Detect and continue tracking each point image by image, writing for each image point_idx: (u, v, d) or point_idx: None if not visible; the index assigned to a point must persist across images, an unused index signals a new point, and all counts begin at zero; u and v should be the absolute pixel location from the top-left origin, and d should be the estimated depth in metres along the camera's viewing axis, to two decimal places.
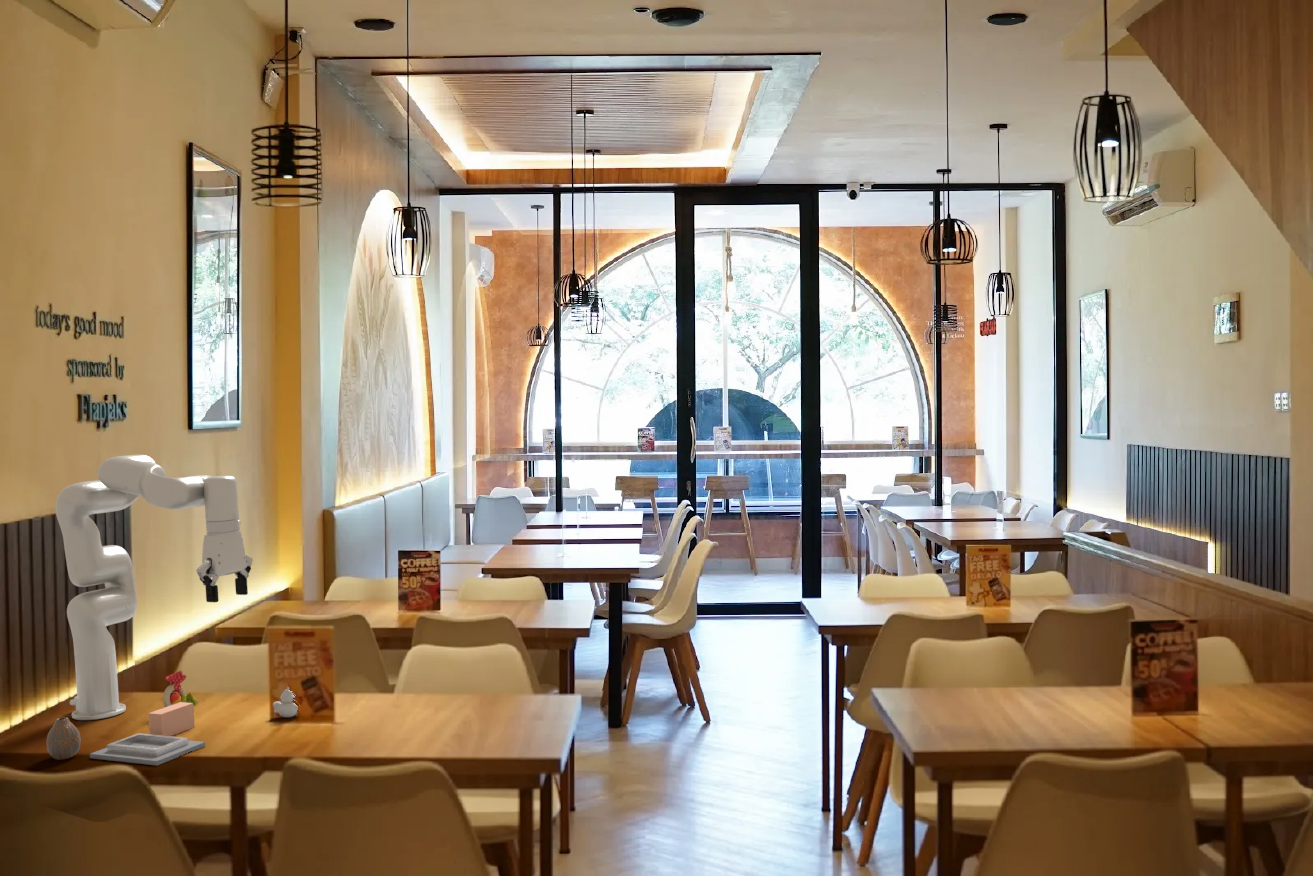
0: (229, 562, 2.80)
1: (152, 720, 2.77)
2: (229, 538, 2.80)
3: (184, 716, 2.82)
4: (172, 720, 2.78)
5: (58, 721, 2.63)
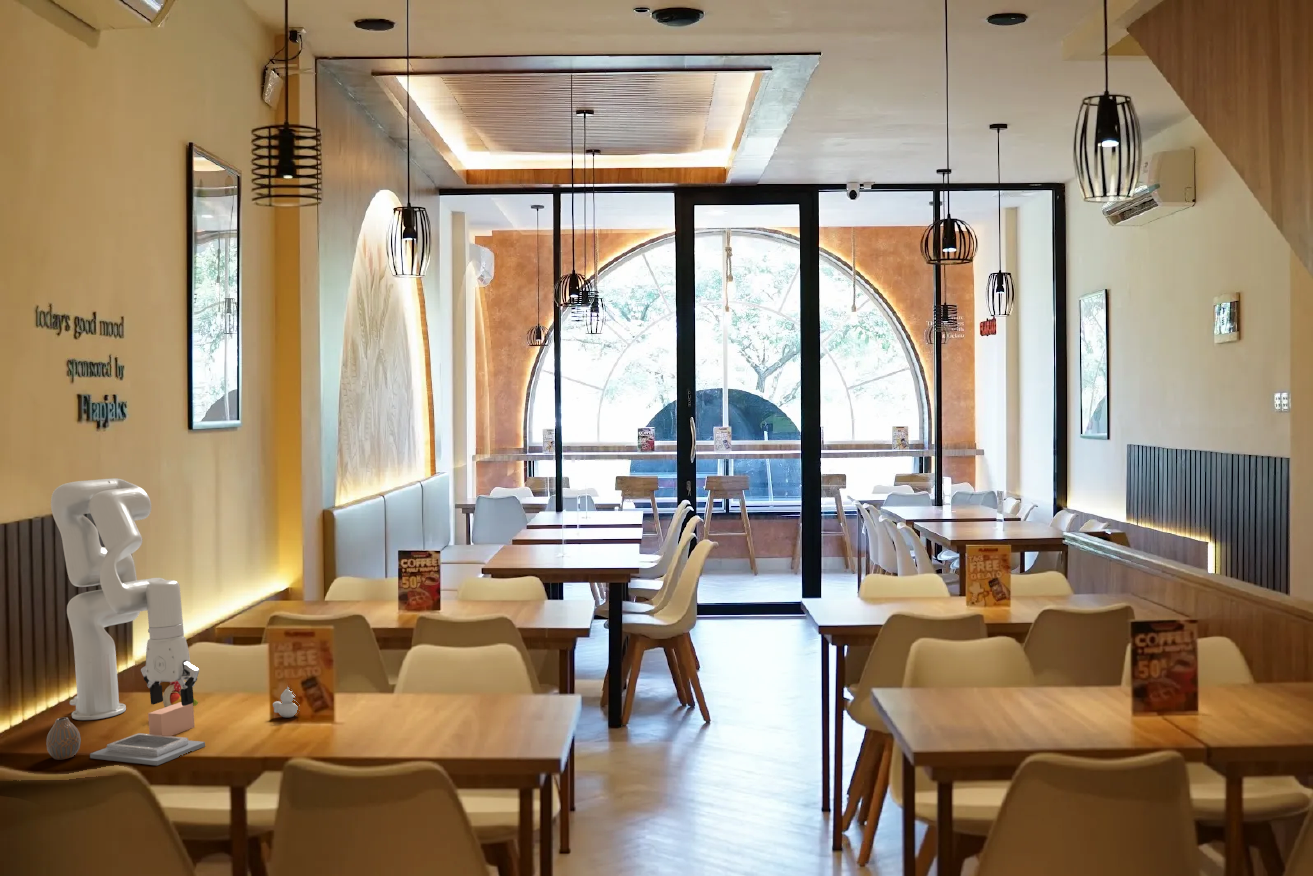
0: None
1: (152, 720, 2.77)
2: None
3: (184, 716, 2.82)
4: (172, 720, 2.78)
5: (58, 721, 2.63)
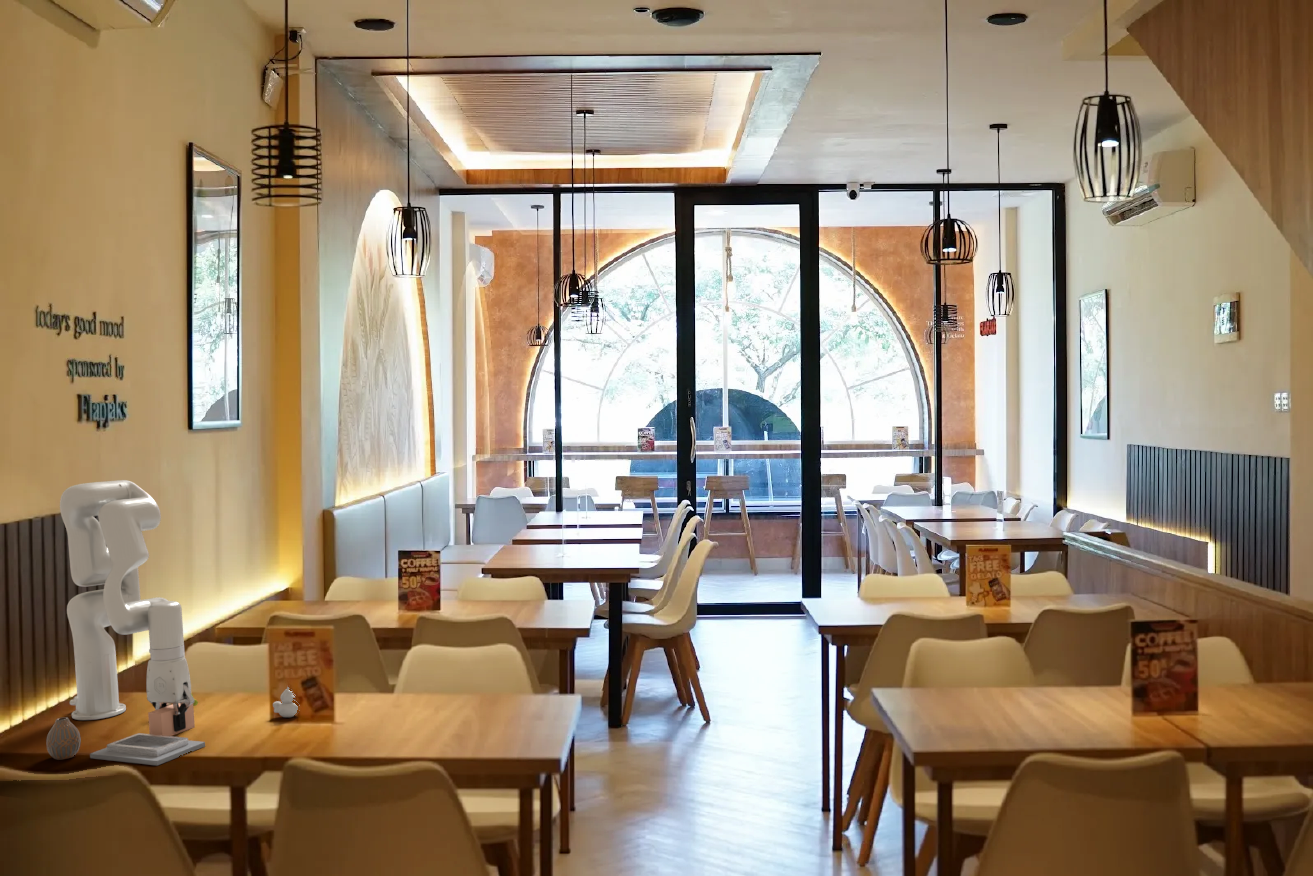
0: None
1: (152, 720, 2.77)
2: None
3: None
4: (172, 720, 2.78)
5: (58, 721, 2.63)
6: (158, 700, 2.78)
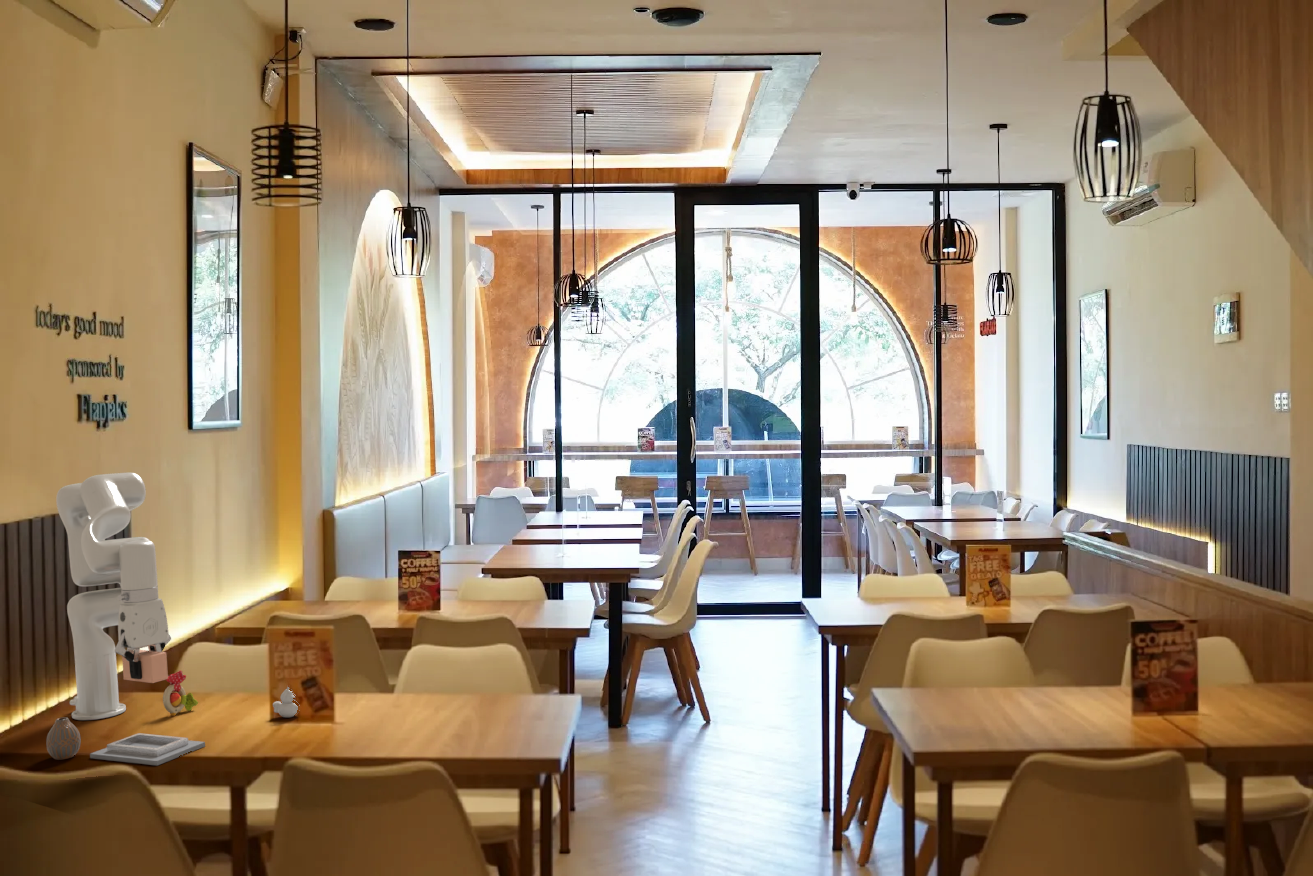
0: None
1: (156, 662, 2.62)
2: None
3: None
4: None
5: (58, 721, 2.63)
6: (148, 643, 2.63)
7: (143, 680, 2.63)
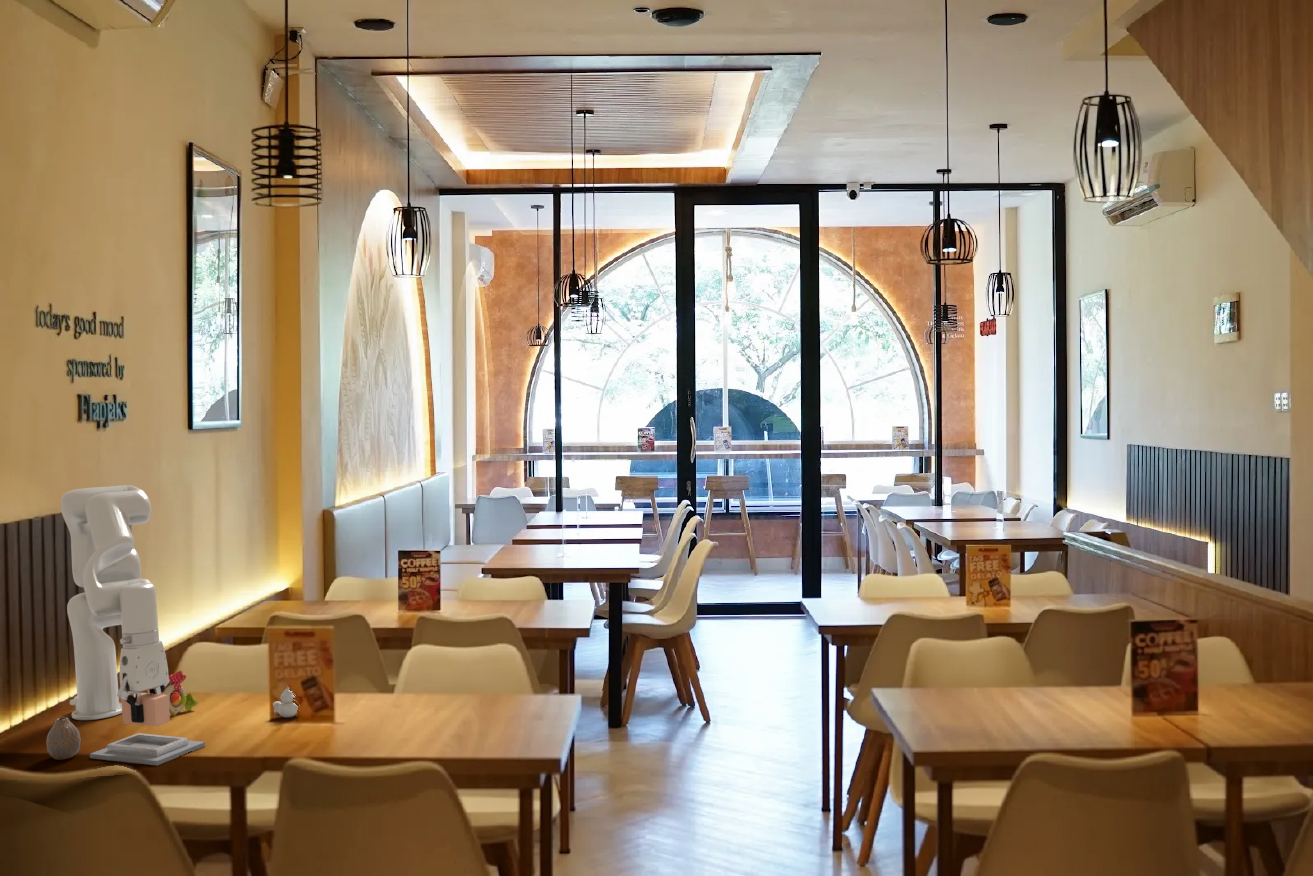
0: None
1: (159, 705, 2.62)
2: None
3: None
4: None
5: (58, 721, 2.63)
6: (150, 687, 2.63)
7: (145, 723, 2.62)
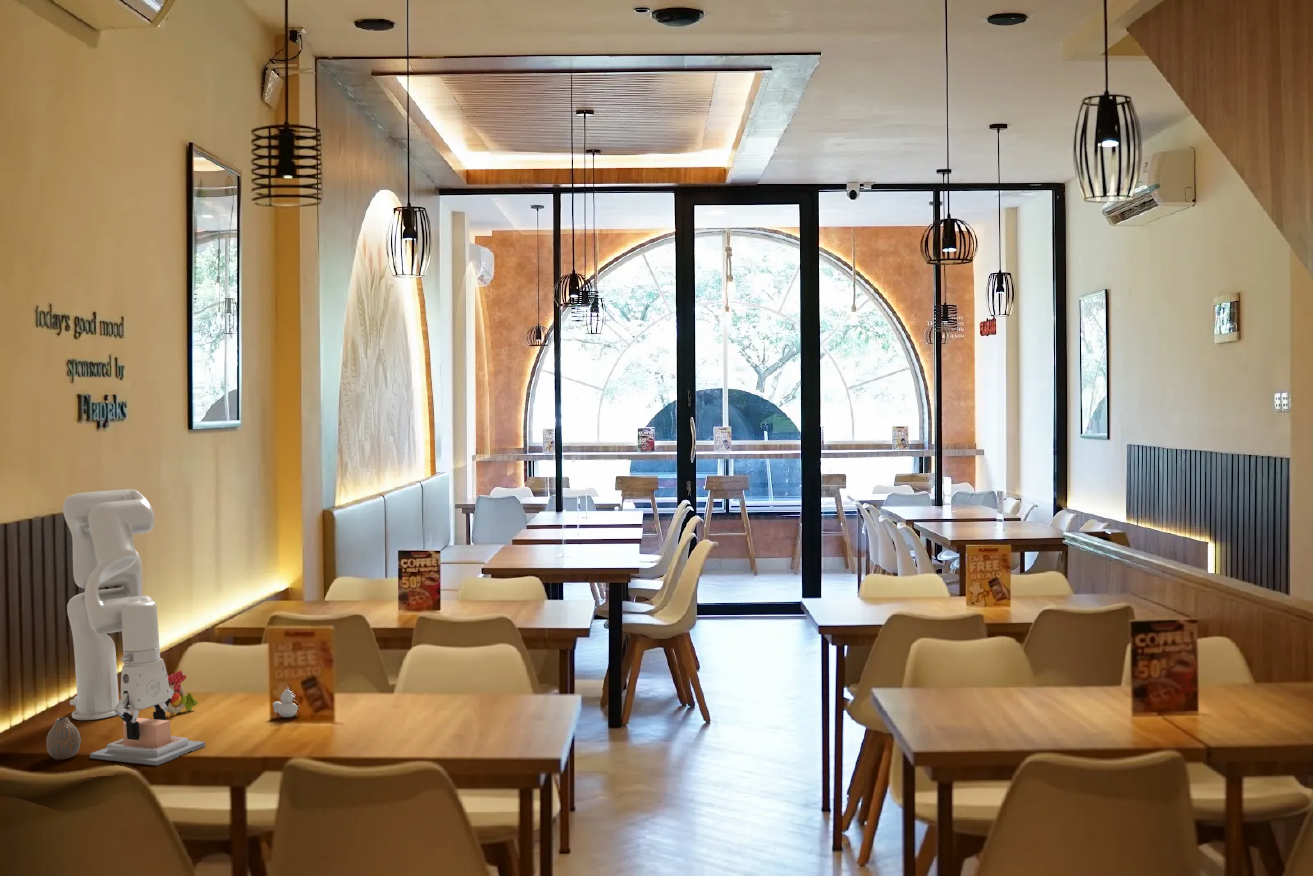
0: None
1: (160, 731, 2.63)
2: None
3: None
4: None
5: (58, 721, 2.63)
6: (151, 704, 2.63)
7: None
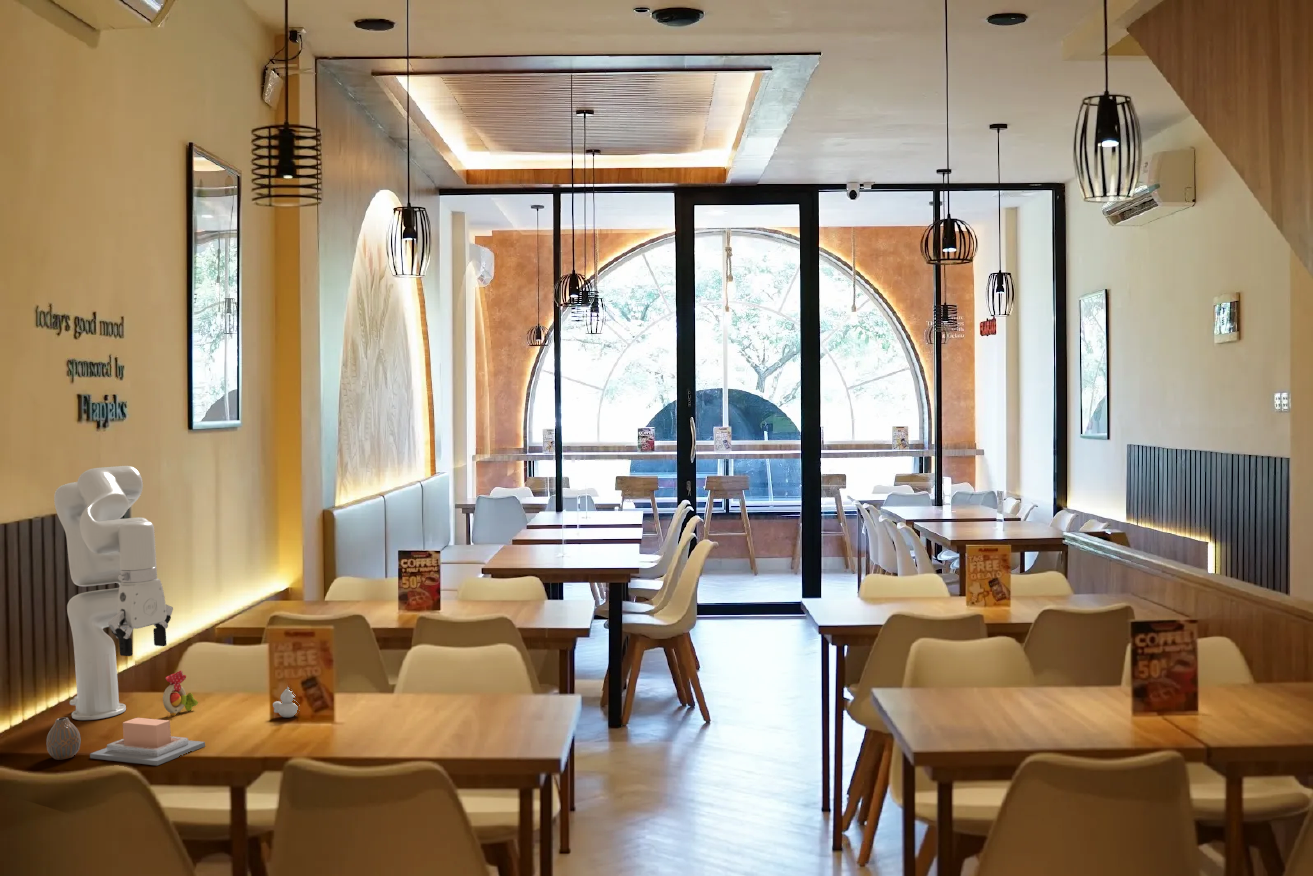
0: None
1: (160, 731, 2.63)
2: None
3: None
4: None
5: (58, 721, 2.63)
6: (148, 623, 2.65)
7: None
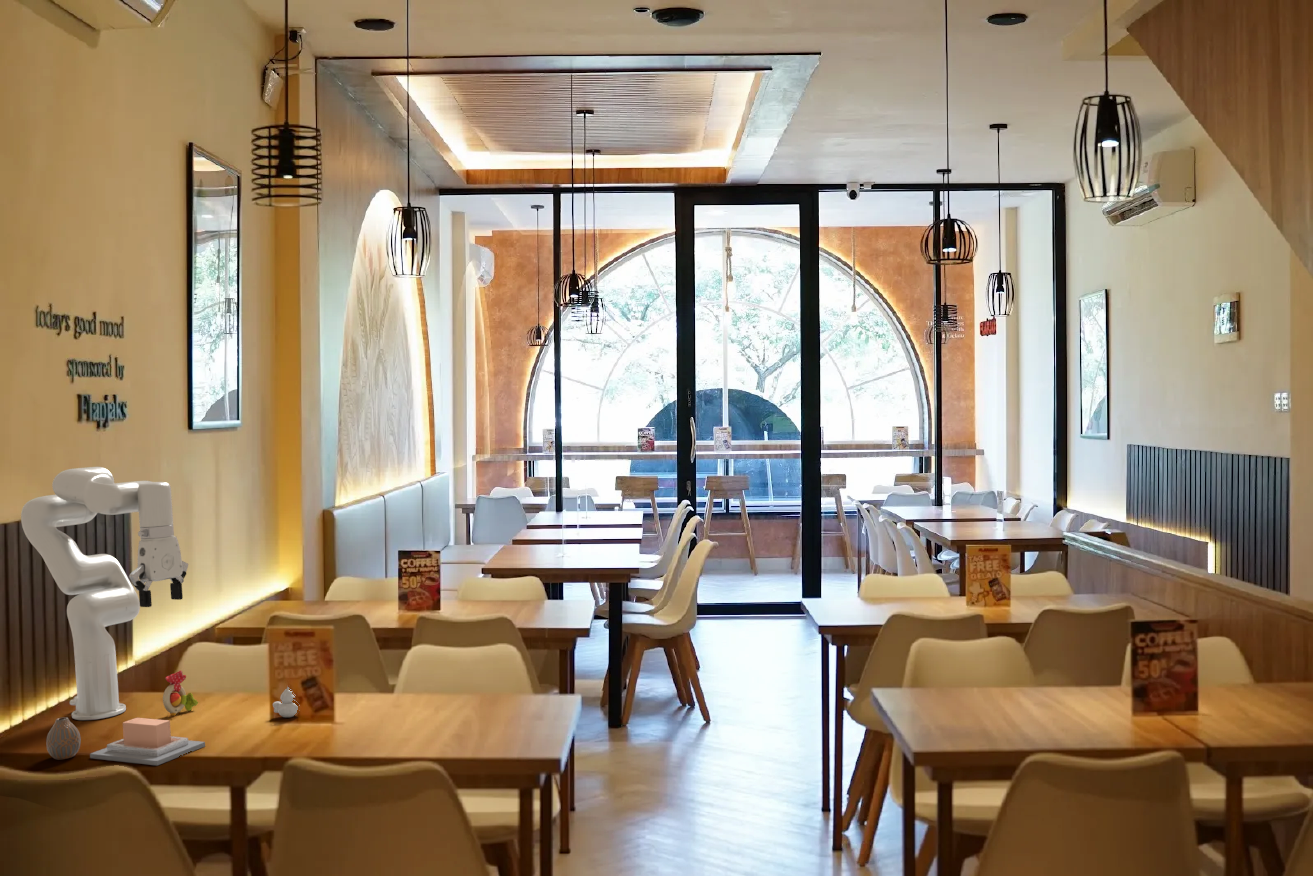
0: None
1: (160, 731, 2.63)
2: None
3: None
4: None
5: (58, 721, 2.63)
6: (165, 577, 2.83)
7: None
